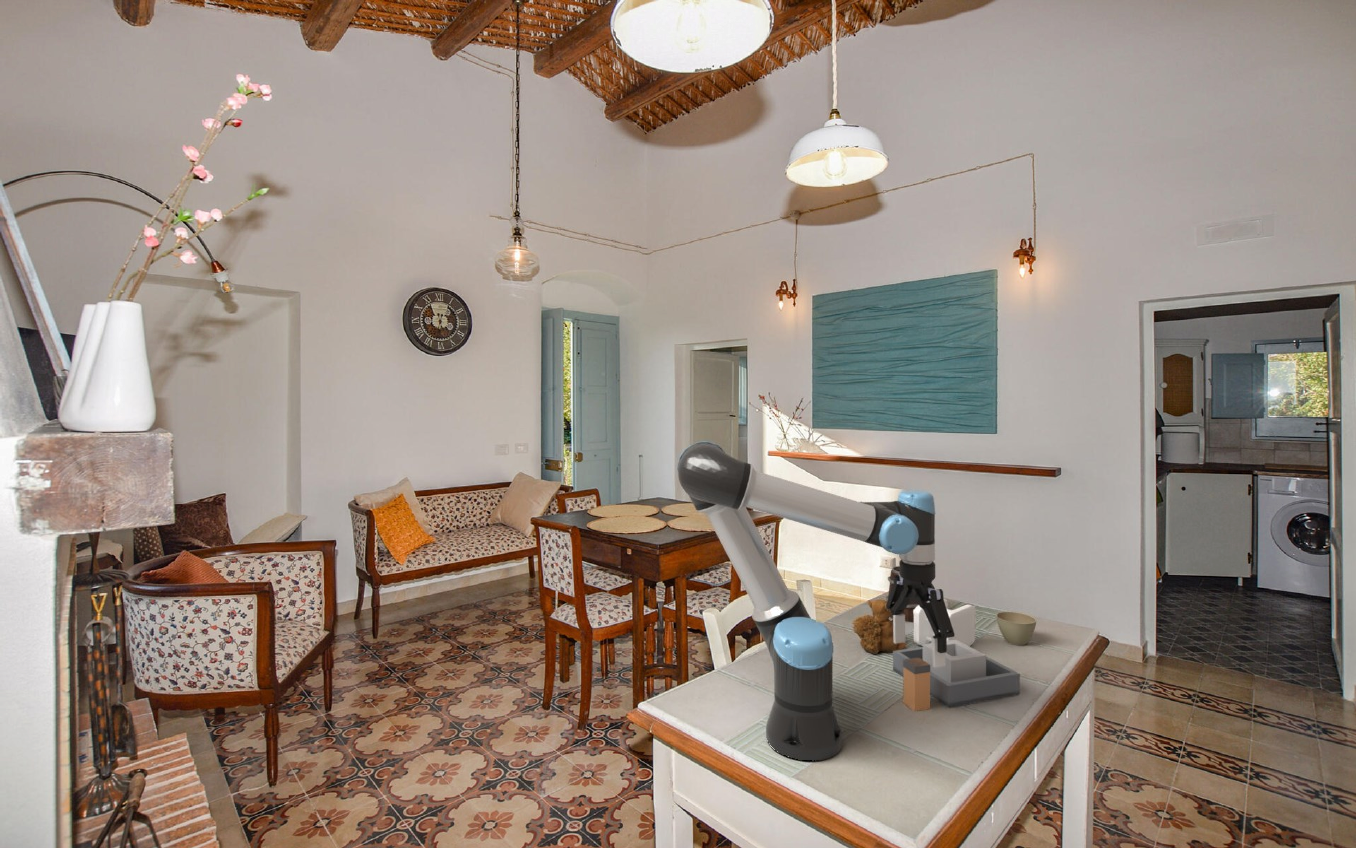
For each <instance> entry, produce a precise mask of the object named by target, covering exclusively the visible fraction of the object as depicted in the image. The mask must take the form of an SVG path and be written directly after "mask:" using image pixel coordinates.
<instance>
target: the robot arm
mask: <svg viewBox="0 0 1356 848" xmlns="http://www.w3.org/2000/svg"><path fill="white" fill-rule="evenodd" d="M676 468H677V475H678V476H677V477H678V482H679V483H680V486H681V487H682V489H683V491H684V492H685V493H686V494H687V495H688V496H689V498H690V500H691V502H692V504H693V506H694V508H695V510H696V512H697V513H702V514H705V515H706V517H707V519H708V520H709V523H710V524H711V526H712V528H713V530H714V532H715V534H716V537H717V538H718V539H719V541H720V543H721V545H722V547H723V549H724V551H725V553H726V555H727V557H728V559H729V560H730V563H731V565H732V566H733V569H734V570H735V572H736V574H737V576H738V578H739V580H740V582H741V584H742V586H743V588H744V589H745V592H746V593H747V596H748V597H749V599H750V601H751V603H752V605H753V607H754V609H753V610H752V614H751V617H752V619H753V621H754V623H755V626H756V627H757V630H758V631H759V634H760V635H761V637H762V639H763V641H764V643H765V644H766V647H767V649H768V652H769V655H770V658H771V661H772V663H773V671H774V672H773V674H774V675H773V679H774V681H773V683H774V688H773V689H774V695H773V696H774V701H773V704H772V706H771V710H770V712H769V716H768V719H767V721H766V726H765V739H766V738H767V740H768V742H769V743H770V745H771V746H772V747H773V748H774V749H775V750H776V751H778V752H779V753H781V754H782V756H783V755H786V756H789V757H791V758H790V759H792V758H795V759H794V760H796V759H798V760H797V761H802V760H812V761H811V762H817V761H816V760H819V761H824V760H828V759H830V758H832V757H834V756H836V755H837V754H838V753H839V752H840V751H841V749H842V746H843V745H842V743H843V742H842V741H843V739H842V734H843V733H842V729H841V727H840V723H839V721H838V718H837V715H836V712H835V709H834V705H833V695H834V693H833V692H834V691H833V687H834V686H833V683H834V682H833V680H834V679H833V673H834V671H833V657H834V655H833V654H834V643H833V638H832V633H831V631H830V629H829V628H828V627H827V626H826V625H825V624H824V623H822V622H821V621H816V619H814V618H812V617H811V616H810V614H809V613H808V610H807V608H806V607H805V605H804V603H803V601H802V599H801V597H800V595H799V594H798V592H797V591H794V590H790V589H789V588H788V586H787V585H786V581H784V578H783V577H782V575H781V573H780V570H779V569H778V567H777V564H776V563H775V561H774V559H773V558H772V556H771V553H770V551H769V550H768V548H767V546H766V544H765V542H764V540H763V538H762V536H761V534H760V532H759V530H758V528H757V527H756V524H755V523H754V521H753V518H752V517H751V515H750V513H749V511H748V509H752V510H755V511H758V512H761V513H766V514H767V515H768V514H769V515H771V516H776V517H779V518H782V519H785V520H789V521H793V522H795V523H799V524H803V525H807V526H810V527H813V528H817V529H821V530H823V531H826V532H830V533H833V534H837V535H840V536H844V537H847V538H850V539H853V540H856V541H860V542H864V543H867V544H870V545H873V546H876V547H880V548H882V549H884V550H885V551H886V552H888V553H891V554H893V555H898V557H899V559H900V560H899V562H898V563H899V565H898V566H899V569H900V574H897V575H894V583H893V586H892V589H891V592H890V595H889V598H888V601H887V600H886V601H887V604H886V608H887V609H890V610H891V613H892V618H891V619H892V620H893V640H894V643H895V644H897V643H906V621H905V615H904V614H901V613H905V612H903V611H904V609H905V608H906V607H907V605H908V604H909V603H910V601H915V602H916V603H917V604H919V606H920V607H921V608H922V609H923V610H924V612H925V614H926V616H927V619H928V621H929V623H930V625H931V627H932V630H933V632H934V634H935V636H932V653H933V667H935V668H936V667H941V666H946V654H945V653H946V651H947V638H949V637H954V631H953V628H952V625H951V621H950V618H949V615H948V612H947V609H946V606H945V602H944V599H945V598H944V590H943V589H942V588H937V589H936V588H935V589H933V588H932V584H933V581H934V580H935V579H936V562H934V561H935V560H936V548H935V547H936V540H935V539H936V538H935V537H936V535H935V534H936V532H935V531H936V528H935V525H936V510H935V509H936V507H935V506H936V505H935V498H934V496H933V495H932V493H930V492H928V491H924V490H906V491H905V490H903V491H900V492H899V493H898V498H897V500H893V501H857V500H853V499H850V498H847V497H844V496H841V495H836V494H833V493H831V492H827V491H824V490H821V489H818V488H815V487H810V486H807V485H803V484H800V483H798V482H794V481H790V480H787V479H783V478H781V477H777V476H774V475H771V474H767V473H764V472H760V471H757V470H756V469H755V468H754V466H753V464H752V463H748V462H745V461H742V460H739V459H738V458H735V457H732V456H730V455H729V454H727V452H726V451H725V450H724V449H723V448H722V447H721V446H719V445H718V444H716V443H714V442H711V441H698V442H695V443H694V444H693V443H692V444H691V445H689V446H687V447H686V448H685V449H684V450H683V451H682V452H681V454H680V456H679V457H678V461H677V467H676ZM928 600H929V602H927V601H928ZM893 602H894V603H893ZM939 630H940V632H939ZM767 740H766V741H767ZM768 742H767V743H768ZM770 745H769V746H770ZM774 749H773V750H774ZM775 750H774V751H775ZM776 751H775V752H776ZM778 752H777V753H778ZM779 753H778V754H779ZM781 754H780V755H781ZM786 756H785V757H786ZM789 757H788V758H789ZM814 760H815V761H814Z"/></svg>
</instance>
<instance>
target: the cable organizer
mask: <svg viewBox="0 0 1356 848" xmlns="http://www.w3.org/2000/svg"><path fill="white" fill-rule="evenodd" d="M944 602H945V606H946V609H947V612H948V615H949V618H950V621H951V625H952V628H953V631H954V637H949V638H947V641H951V640H958V641H959V642H961V643H963V644H965V645H967V646H969V647H971V645H973V644H974V642H975V640H976V607H975V606H974V605H971V604H965V605H962V606H959V607H957V608H955V609H953V610H952V609H949V607H948V606H949V605H948V600H947V599H945V598H944ZM913 614H914V621H913V642H914V644H917V645H919V646H921V647H923V644H930V643H932V636H935V634H934V632H933V630H932V627H931V625H930V623H929V621H928V619H927V616H926V614H925V612H924V610H923V609H922V608H921V607H920V606H919V605H918V606H917V607H916V608H915V610H913ZM939 632H940V630H939Z"/></svg>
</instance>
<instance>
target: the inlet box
mask: <svg viewBox="0 0 1356 848" xmlns="http://www.w3.org/2000/svg"><path fill="white" fill-rule="evenodd" d="M945 654H946V666H941V667H936V668H935V667H933V653H932V643H931V642H930V643H929V644H923V646H919V647H918V646H917V647H911V648H905V649H904V650H897V651H893V652H892V659H893V660H892V671H893V672H895V673H896V674H898V675H899V676H901V677H902V678H903V660H905V659H911V658H918V657H919V658H920V659H922V660H923V661H925V662H927V663H928V664H930V698H932V699H934V700H936V701H937V702H938V703H940V704H941V705H943V706H945V707H946V708H949V709H950V708H955V707H960V706H967V705H971V704H977V703H982V702H987V701H992V700H993V701H994V700H999V699H1004V698H1009V697H1015V696H1020V695H1021V694H1020V693H1021V692H1020V691H1021V687H1020V685H1021V683H1020V682H1021V674H1020V673H1019V672H1017V671H1015V670H1013V669H1012V668H1010V667H1008V666H1006V665H1004V664H1002V663H1001V662H998V661H996V660H994V659H992V658H991V657H989V656H987V655H986V654H984V653H982V652H980V651H979V650H977V649H975V648H973V647H971V646H970V647H969V646H967V645H965V644H963V643H961V642H959V641H958V640H951V641H947V651H946V653H945Z"/></svg>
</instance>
